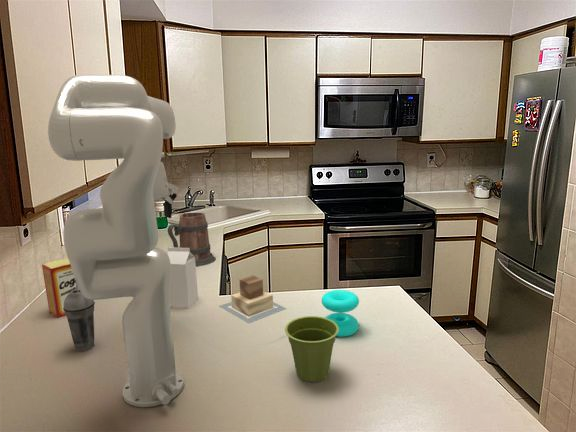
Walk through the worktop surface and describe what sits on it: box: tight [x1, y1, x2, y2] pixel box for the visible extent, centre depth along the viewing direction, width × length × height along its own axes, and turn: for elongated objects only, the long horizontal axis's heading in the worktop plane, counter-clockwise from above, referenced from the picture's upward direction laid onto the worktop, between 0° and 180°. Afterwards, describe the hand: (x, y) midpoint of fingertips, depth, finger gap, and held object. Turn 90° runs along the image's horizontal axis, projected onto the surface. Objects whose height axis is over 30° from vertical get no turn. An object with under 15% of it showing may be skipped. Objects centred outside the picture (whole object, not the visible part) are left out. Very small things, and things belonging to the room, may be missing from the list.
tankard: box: [167, 212, 217, 268], centre depth 174 cm, size 24×17×20 cm
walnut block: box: [239, 274, 264, 300], centre depth 127 cm, size 5×5×5 cm
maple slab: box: [230, 290, 274, 316], centre depth 128 cm, size 9×9×4 cm
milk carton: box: [166, 246, 199, 309], centre depth 132 cm, size 7×7×19 cm
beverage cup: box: [63, 279, 95, 352], centre depth 107 cm, size 7×7×20 cm
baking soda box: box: [41, 258, 76, 319], centre depth 131 cm, size 10×6×16 cm
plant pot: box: [284, 315, 339, 383], centre depth 94 cm, size 12×12×11 cm
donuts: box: [321, 289, 360, 338], centre depth 114 cm, size 10×10×10 cm
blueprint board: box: [219, 301, 287, 324], centre depth 129 cm, size 16×14×1 cm
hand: (151, 220), depth 116 cm, fingers open, 9 cm apart
